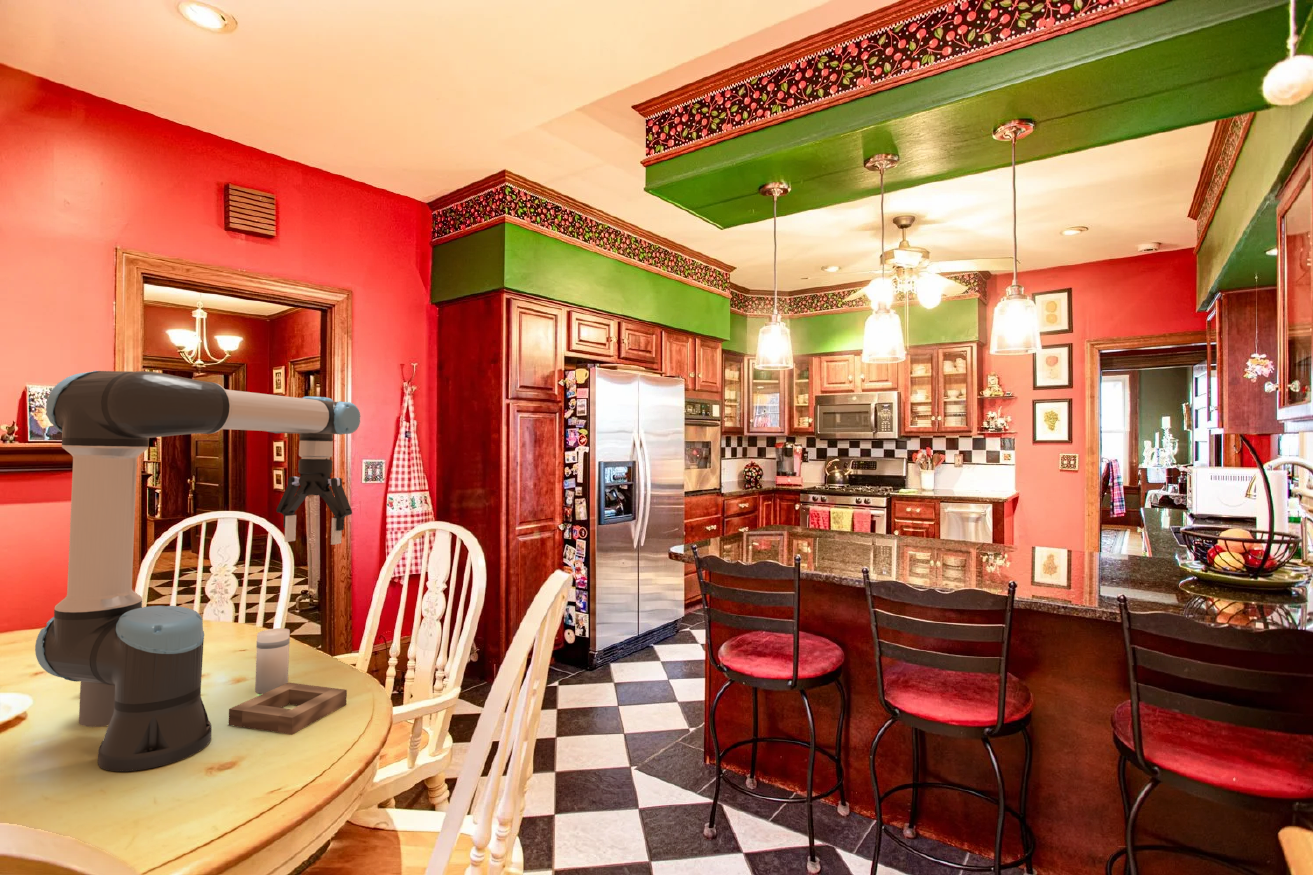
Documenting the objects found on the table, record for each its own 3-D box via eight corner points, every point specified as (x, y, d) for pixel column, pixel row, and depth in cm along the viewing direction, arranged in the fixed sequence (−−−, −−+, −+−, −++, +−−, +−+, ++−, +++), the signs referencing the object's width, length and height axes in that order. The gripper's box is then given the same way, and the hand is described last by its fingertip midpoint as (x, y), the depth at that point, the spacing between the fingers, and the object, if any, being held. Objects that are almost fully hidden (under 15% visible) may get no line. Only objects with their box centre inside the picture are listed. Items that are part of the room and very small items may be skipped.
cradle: (291, 734, 114) (292, 717, 114) (228, 725, 118) (229, 708, 118) (346, 704, 128) (346, 689, 128) (288, 696, 131) (288, 682, 131)
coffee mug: (76, 731, 114) (78, 675, 114) (81, 713, 121) (83, 660, 122) (170, 713, 122) (172, 661, 122) (169, 697, 130) (170, 648, 130)
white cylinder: (271, 695, 132) (273, 637, 132) (247, 691, 133) (249, 634, 134) (294, 684, 138) (296, 629, 138) (271, 681, 139) (273, 627, 140)
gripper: (368, 459, 160) (366, 543, 160) (286, 457, 166) (282, 538, 165) (348, 459, 153) (345, 547, 152) (262, 457, 159) (259, 541, 158)
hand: (312, 542), depth 159 cm, fingers open, 13 cm apart
